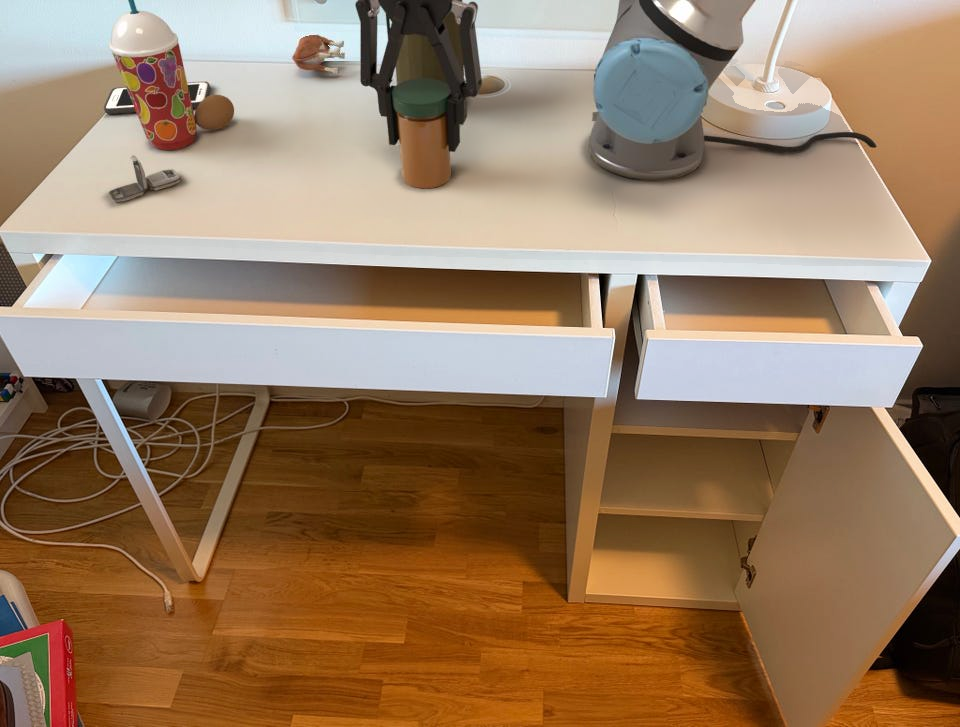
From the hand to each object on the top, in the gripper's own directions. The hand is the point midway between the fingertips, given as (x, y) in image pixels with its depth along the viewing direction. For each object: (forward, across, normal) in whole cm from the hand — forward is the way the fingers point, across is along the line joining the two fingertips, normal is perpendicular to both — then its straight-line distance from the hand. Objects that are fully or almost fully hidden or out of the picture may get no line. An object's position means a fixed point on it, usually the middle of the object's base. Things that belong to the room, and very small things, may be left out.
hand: (424, 143), depth 95 cm
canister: (+5, +6, -21) cm, 22 cm away
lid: (-6, 0, 0) cm, 6 cm away
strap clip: (+5, +34, +11) cm, 36 cm away
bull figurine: (+3, +23, -31) cm, 39 cm away
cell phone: (+5, +46, -12) cm, 48 cm away
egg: (+2, +32, -9) cm, 33 cm away
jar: (+5, 0, 0) cm, 5 cm away
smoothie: (+5, +37, -1) cm, 38 cm away
